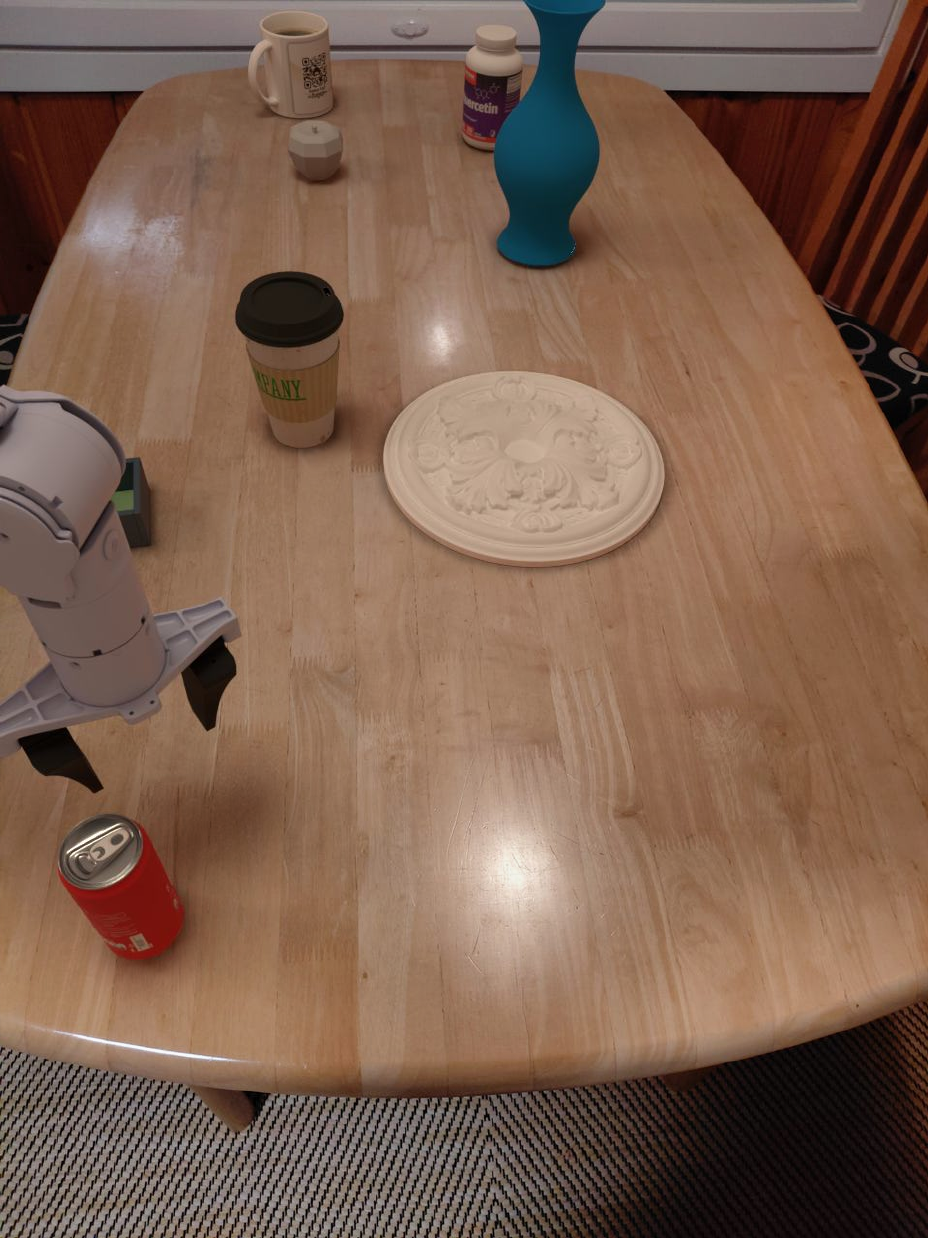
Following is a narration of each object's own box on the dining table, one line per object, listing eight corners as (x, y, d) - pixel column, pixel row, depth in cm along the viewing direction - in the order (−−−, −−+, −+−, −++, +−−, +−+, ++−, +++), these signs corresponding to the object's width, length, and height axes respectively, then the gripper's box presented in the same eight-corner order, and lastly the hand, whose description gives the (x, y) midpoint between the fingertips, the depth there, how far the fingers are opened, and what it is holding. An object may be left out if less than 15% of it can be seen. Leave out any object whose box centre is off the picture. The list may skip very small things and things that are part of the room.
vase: (602, 262, 117) (645, 11, 96) (514, 282, 114) (538, 25, 92) (556, 217, 124) (586, -28, 102) (471, 234, 120) (484, -16, 99)
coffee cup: (247, 405, 97) (224, 274, 85) (339, 391, 99) (329, 261, 88) (263, 467, 91) (241, 335, 80) (361, 450, 93) (353, 320, 82)
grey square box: (65, 555, 83) (51, 523, 80) (68, 498, 88) (55, 465, 84) (150, 545, 84) (140, 512, 81) (149, 489, 89) (139, 456, 86)
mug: (335, 120, 139) (330, 38, 131) (253, 121, 138) (243, 38, 129) (331, 90, 146) (326, 10, 137) (254, 91, 144) (243, 10, 136)
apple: (333, 193, 126) (330, 143, 120) (279, 182, 127) (274, 132, 122) (355, 167, 130) (353, 118, 125) (303, 156, 132) (299, 107, 126)
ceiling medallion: (549, 616, 81) (553, 593, 79) (324, 466, 92) (322, 441, 89) (715, 459, 95) (723, 435, 92) (503, 344, 106) (505, 320, 103)
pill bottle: (450, 141, 137) (454, 31, 125) (483, 123, 141) (489, 15, 129) (495, 159, 134) (502, 48, 122) (527, 140, 138) (537, 31, 127)
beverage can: (92, 925, 63) (35, 848, 53) (158, 875, 65) (116, 792, 56) (134, 982, 60) (83, 912, 51) (201, 928, 63) (165, 851, 53)
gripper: (-20, 737, 44) (64, 859, 54) (253, 600, 50) (281, 734, 60) (-70, 640, 47) (19, 773, 58) (191, 523, 53) (228, 663, 64)
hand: (149, 748), depth 59 cm, fingers open, 7 cm apart
